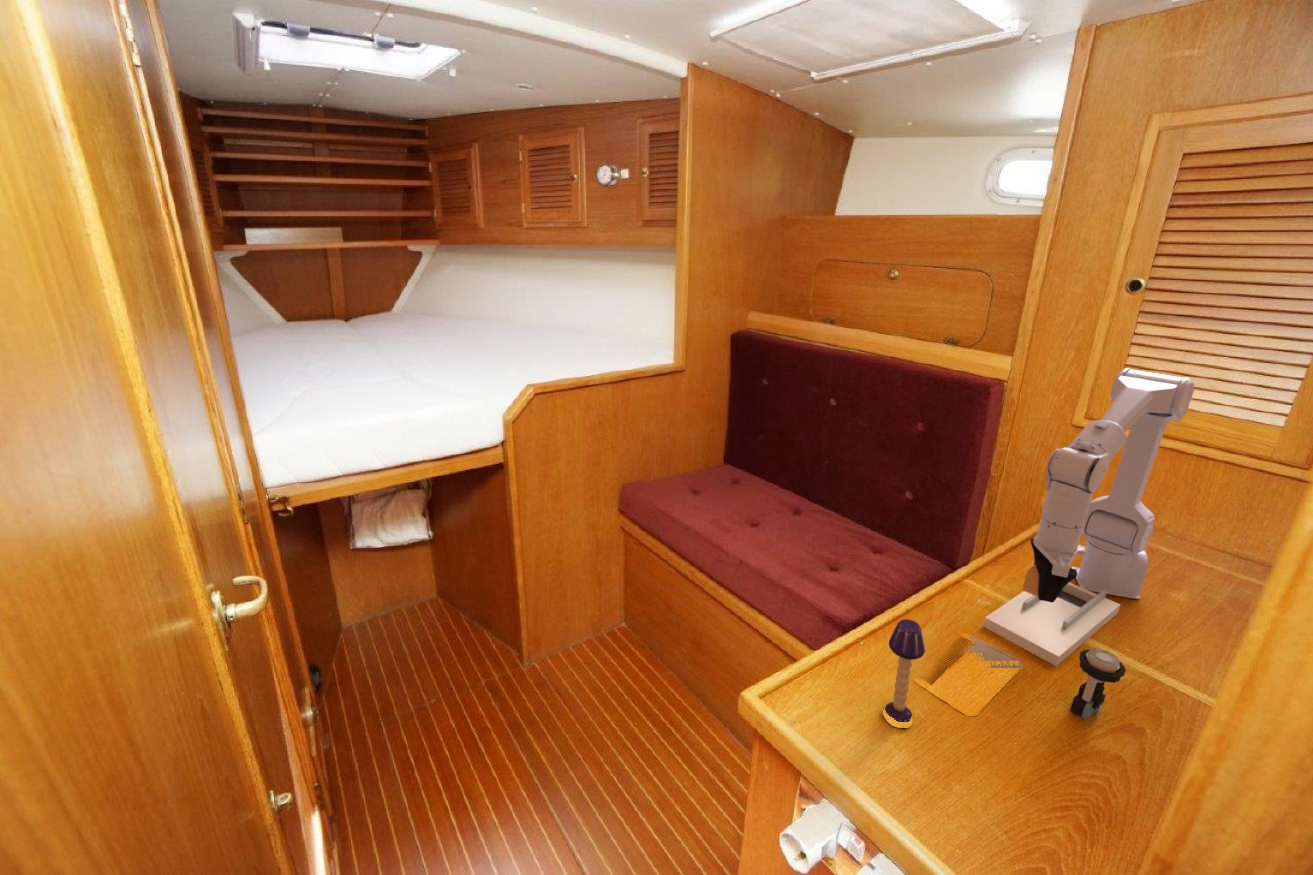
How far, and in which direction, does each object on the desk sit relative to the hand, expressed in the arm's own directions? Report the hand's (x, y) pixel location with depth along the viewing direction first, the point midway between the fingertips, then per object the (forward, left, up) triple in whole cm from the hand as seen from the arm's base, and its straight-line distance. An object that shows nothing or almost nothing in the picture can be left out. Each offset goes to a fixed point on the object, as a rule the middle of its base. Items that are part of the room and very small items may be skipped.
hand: (1043, 590), depth 97 cm
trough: (-4, -6, -9) cm, 12 cm away
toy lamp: (+22, +28, -10) cm, 37 cm away
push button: (-5, +16, -10) cm, 19 cm away
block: (0, 0, 0) cm, 1 cm away
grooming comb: (+11, +14, -10) cm, 20 cm away
